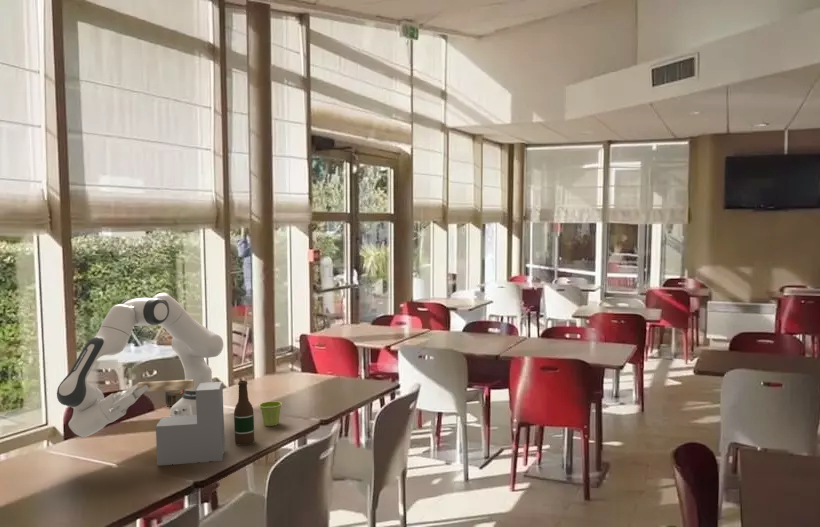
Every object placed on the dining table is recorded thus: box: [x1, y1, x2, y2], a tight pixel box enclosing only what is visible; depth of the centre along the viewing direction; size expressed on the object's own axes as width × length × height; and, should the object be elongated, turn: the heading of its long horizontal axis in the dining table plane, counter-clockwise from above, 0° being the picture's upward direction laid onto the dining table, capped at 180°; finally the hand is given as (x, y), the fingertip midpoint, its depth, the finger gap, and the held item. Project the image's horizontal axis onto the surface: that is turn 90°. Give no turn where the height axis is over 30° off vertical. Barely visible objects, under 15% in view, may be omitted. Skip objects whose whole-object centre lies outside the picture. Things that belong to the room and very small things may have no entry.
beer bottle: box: [233, 380, 255, 446], centre depth 268 cm, size 8×8×24 cm
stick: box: [136, 379, 194, 393], centre depth 249 cm, size 19×2×3 cm, turn 100°
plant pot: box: [258, 400, 283, 427], centre depth 292 cm, size 9×9×9 cm
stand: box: [155, 381, 226, 466], centre depth 251 cm, size 22×12×26 cm, turn 100°
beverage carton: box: [164, 390, 183, 408], centre depth 331 cm, size 8×19×7 cm, turn 120°
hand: (149, 385), depth 248 cm, fingers closed on stick, 2 cm apart
